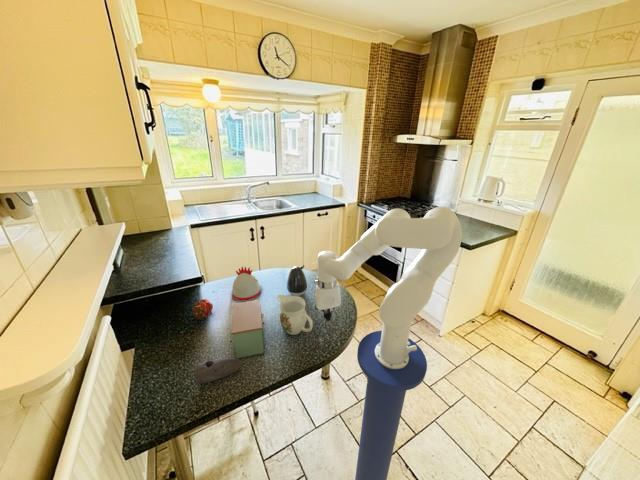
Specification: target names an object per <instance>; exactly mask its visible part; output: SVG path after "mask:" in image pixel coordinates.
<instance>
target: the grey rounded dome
mask: <svg viewBox="0 0 640 480" xmlns="http://www.w3.org/2000/svg"><path fill="white" fill-rule="evenodd" d="M252 272H253V268H252V269H251V268H250V267H248V268H247V267H246V266H244V267H243V266H241V268H238V270H235V273H236V275H237V276H236V277H235V279H234V280H233V284H232V290H231V293H232V297H233V298H234V299H235V300H236V301H241V302H248V301H252V300H253V299H255V298H257V297H258V296H259V295H260V294H261V291H262V290H261V284H260V281H259V280H258V278H257V277H256V276H255V274H253V273H252Z"/></svg>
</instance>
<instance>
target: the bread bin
mask: <svg viewBox="0 0 640 480" xmlns="http://www.w3.org/2000/svg"><path fill="white" fill-rule="evenodd" d="M231 311H232V312H231V326H230V335H231V336H232V341H233V347H234V353H235V358H236V359H241V358H246V357H250V356H255V355H260V354H264V353H265V349H264V348H265V347H266V346H265V344H266V343H265V334H264V324H265V316H264V315H265V314H264V313H263V312H262V304H261V300H260V299H255V300H247V301H241V302H235V303H232V310H231Z"/></svg>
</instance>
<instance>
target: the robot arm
mask: <svg viewBox="0 0 640 480" xmlns="http://www.w3.org/2000/svg"><path fill="white" fill-rule="evenodd" d="M462 239H463V230H462V225H461V222H460V220H459V218H458V216H457V215H456V213H455V212H454V211H453V210H451V209H450V208H449V207H446V206H437V207H433V208H432V209H430V210H428V211H427V212H426V213H425V215H424V216H423V217H421V218H419V217H417V218H416V217H415V218H413V217H412V218H411V216H410V214H409V213H408V212H407V210H405V209H403V208H397V207H396V208H392V209H390V210H389V211H387V212H386V213H384V215H382V216H381V217H380V218H379V219H378V220H377V221H376V222H375V223H374V224H373V225H371V226H370V228H368V229H367V230H366V231H365V232H364V233H363V234H362V235H361V236H360V238H359V240H358V241H356V242H355V243H354V244H353V245H352V246H351V247H350V248H348V250H346V251H345V253H343V254H342V255H341V256H340V257H339V258H338V255H337V253H335V252H334V251H331V250H323V251H321V252H319V253H318V254H317V257H316V258H317V259H316V261H317V263H316V264H317V265H316V266H317V278H316V280H314V281H313V282H314V285H316V286H315V290H314V291H315V292H314V304H315V305H314V309H315V311H321V312H322V313H323V319H325V321H326V322H328V321H332V319H331V318H332V317H333V316H332V313H333V311H334V310H335V309H336V308H339V307H340V306H341V305H342V295H341V288H340V283H339V282H338V280H340V281H344V282H345V281H347V280H349V279H350V278H351V277H352V276H353V275H354V274H355V272H356V271H357V270H358V269H359V268H360V266H362V265H363V264H364V263H365V262H366V261H368V260H369V259H370V258H371V257H373V256H380V255H381V254H382V253H383V252H384V251H386V250H388V248H389V247H394V248H404V249H405V248H406V249H415V250H416V249H417V250H421V251H420V252H419V253H418V255H417V256H416V257H415V259H413V261H412V262H411V263H410V264H409V265H408V266H407V267H406V268H405V270H404V271H403V273H402V275H401V276H400V278H399V281H398V282H395V283H393V284H392V285H391V286H390V287H389V288H388V290H387V292H386V294H385V295H384V298H383V300H382V301H381V304H380V306H379V308H378V315H379V319H380V320H381V322H382V327H381V331H382V333H381V340H380V343H379V344H377V346H376V348H375V357H376V359H377V360H378V361H379V362H380V363H381V364H382V365H383V366H385V367H387V368H390V369H401V368H404V367H405V366H406V365H407V364H408V361H409V355H408V353H410V351H416V350H417V347H416V345H413V346H409V347H408V345H410V342H408V338H409V339H410V333H411V328H412V323H413V319H414V318H416V317H417V315H418V314H419V313H421V311H422V310H423V309H424V308H425V307H426V305H427V304H428V303H429V301H430V299H431V297H432V294H433V291H434V287H435V285H436V282H437V280H438V279H439V278H440V277H441V275H443V273H444V272H445V271H446V269H447V268H448V267H449V266H450V265H451V264H452V262H453V261H454V259H455V258H456V256H457V254H458V252H459V251H460V249H461V244H462V241H463V240H462Z"/></svg>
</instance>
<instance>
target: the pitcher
mask: <svg viewBox="0 0 640 480" xmlns="http://www.w3.org/2000/svg"><path fill="white" fill-rule="evenodd" d="M277 299H278V301H279V308H280V310H279V311H280V312H279V322H280V324H281V325H280V326H281V327H282V329H283V330H284V331H285V333H287V334H288V335H290V336H291V335H292V336H295V335H296V336H297V335H299V334H300V333H301V332H304V333H310V332H312V330H313V327H314V322H313V320H312V318H311V316H309V315H308V314H307V310H306V301H305V299H304V298H303V297H301V296H293V295H285V294H278V295H277ZM307 321H308V324H309V327H308V328H306V324H307Z"/></svg>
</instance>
